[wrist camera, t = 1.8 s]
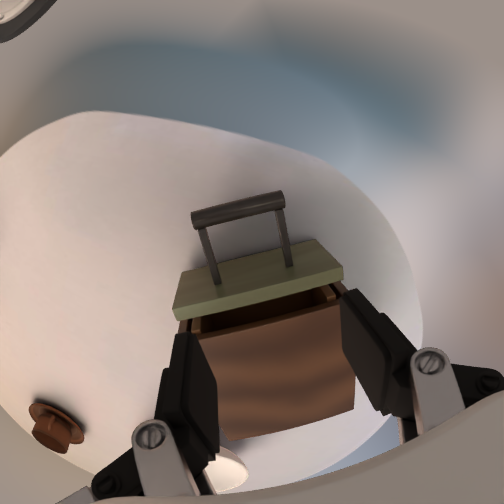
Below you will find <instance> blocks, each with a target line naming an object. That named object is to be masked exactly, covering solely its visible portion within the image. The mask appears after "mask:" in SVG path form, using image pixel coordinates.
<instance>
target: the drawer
mask: <svg viewBox="0 0 504 504" xmlns="http://www.w3.org/2000/svg"><path fill="white" fill-rule="evenodd" d="M283 208H285V199H284V195H283V193H282V191H281V190H279V191H275V192H270V193H266V194H261V195H257V196H253V197H249V198H244V199H240V200H236V201H232V202H228V203H224V204H220V205H216V206H212V207H209V208H205V209H201V210H197V211H193V212H191V220H192V224H193V227H194V229H195V230H198V233H199V236H200V239H201V243H202V246H203V249H204V253H205V256H206V259H207V263H208V266H205V267H201V268H197V269H193V270H189V271H185V272H182V273H181V277H180V281H179V284H178V288H177V292H176V295H175V299H174V303H173V307H172V310H173V313H174V315H175V318H176V320H177V321H181V320H186V319H190V318H193V321H192V330H191V332H192V334H196V335H199V334H204V333H209V332H213V331H218V330H222V329H227V328H231V327H236V326H240V325H244V324H248V323H252V322H257V321H261V320H265V319H269V318H272V317H276V316H280V315H284V314H288V313H291V312H295V311H299V310H302V309H306V308H310V307H313V306H317V305H320V304H323V303H327V302H330V301H334V300H336V295H335V293H334V292H333V291H332V289H331V288H330V287H329V285H328V284H330V283H334V282H337V281H340V280H343V267H342V265H341V264H340V263H339V262H338V261H337V260H336V259H335V258H334V257H333V256H332V255H331V254H330V253H329V252H328V251H327V250H326V249H325V248H324V247H323V246H322V245H321V244H320V243H319V242H318V241H317V240H316V239H314V240H310V241H306V242H302V243H298V244H294V245H290V243H289V238H288V233H287V227H286V222H285V217H284V212H283ZM270 211H275V216H276V221H277V226H278V231H279V236H280V241H281V246H282V248H278V249H274V250H270V251H266V252H262V253H258V254H254V255H250V256H246V257H242V258H238V259H233V260H229V261H225V262H221V263H217V264H216V260H215V257H214V254H213V250H212V247H211V243H210V240H209V236H208V233H207V229H206V227H209V226H213V225H217V224H221V223H225V222H229V221H233V220H237V219H241V218H245V217H249V216H253V215H257V214H262V213H266V212H270Z"/></svg>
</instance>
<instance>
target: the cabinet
mask: <svg viewBox="0 0 504 504" xmlns="http://www.w3.org/2000/svg"><path fill="white" fill-rule="evenodd" d="M328 285H329V287H330V288H331V289H332V291H333V292H334V293H335V295H336V300H334V301H330V302H327V303H323V304H320V305H317V306H313V307H310V308H306V309H302V310H299V311H295V312H291V313H288V314H284V315H280V316H276V317H272V318H269V319H265V320H261V321H257V322H252V323H248V324H244V325H240V326H236V327H231V328H227V329H222V330H218V331H213V332H209V333H204V334H199V335H196V336H197V338H198V340H199V343H200V345H201V347H202V350H203V352H204V354H205V357H206V359H207V361H208V363H209V366H210V368H211V370H212V372H213V374H214V377H215V379H216V382H217V391H218V420H219V426H220V427H221V429H222V431H223V432H224V434H225V435H226V437H227V439H228V440H229V441H233V440H239V439H245V438H250V437H256V436H261V435H265V434H270V433H275V432H279V431H283V430H287V429H291V428H295V427H299V426H303V425H306V424H310V423H313V422H317V421H320V420H323V419H326V418H329V417H333V416H336V415H339V414H341V413H344V412H347V411H350V410H353V409H354V397H355V377H356V375H355V373H354V371H353V369H352V367H351V366H350V364H349V362H348V360H347V359H346V357H345V355H344V353H343V350H342V339H341V319H340V303H339V298H340V297H342V296H343V293H344V292H346V291H348V290H347V288H346V287H345V286H344V285H343V284H342V283H341V281H337V282H334V283H330V284H328ZM192 321H193V318H190V319H186V320H181V321H180V324H179V330H178V333H183V332H188V331H189V332H190V333H191V334H192V332H191V330H192Z"/></svg>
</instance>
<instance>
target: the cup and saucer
mask: <svg viewBox="0 0 504 504" xmlns="http://www.w3.org/2000/svg"><path fill="white" fill-rule="evenodd" d="M29 413H30V415H31V417H32V419H33V420H34V421H35V422H36V424H35V426H34V428H33V430H32V434H33V436H34V437H35V439H36V440H37V441H39V442H40V443H41V444H42V445H44V446H45V447H47V448H49V449H50V450H52V451H55V452H57V453H61V454H65V453H67V450H68V447H69V444H70V443H71V444H81V443H82V442H83V441H84V435H83V433H82V431H81V429H80V428H79V426H78V425H77V424H76V423H75V422H74V421H73V420H72V419H70V418H69V417H68V416H66V415H65V414H64V413H62V412H60V411H59V410H57V409H55V408H53V407H51V406H48V405H45V404H40V403H37V404H32V405H31V406H30V407H29Z"/></svg>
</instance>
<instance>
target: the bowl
mask: <svg viewBox="0 0 504 504" xmlns="http://www.w3.org/2000/svg"><path fill="white" fill-rule="evenodd" d="M205 471H206V473H207V475H208V477H209V479H210V481H211V483H212V485H213V487H214V489H215V491H216V492H219V491H225V490H228V489H232V488H234V487H237V486H239V485H240V484H242V483H244V482H245V481H246V480H247V478H248V476H249V473H248V470H247V467H246V466H245V464H244V463H243V461H242V460H241V459H240V458H239V457H238V456H237V455H235V454H234V453H233V452H231V451H230V450H228V449H226V448H224V447H221V446H220V452H219V453H216V461H209V462H208V466H207V467H206V468H205Z"/></svg>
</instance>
